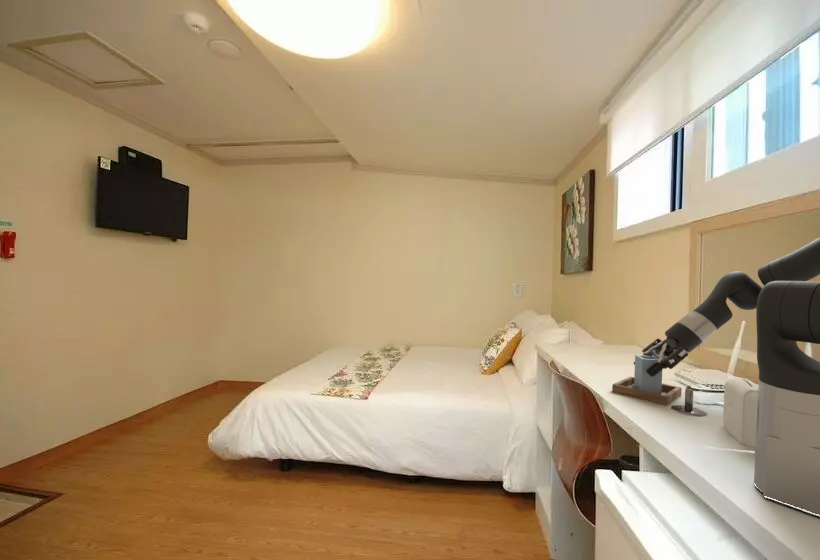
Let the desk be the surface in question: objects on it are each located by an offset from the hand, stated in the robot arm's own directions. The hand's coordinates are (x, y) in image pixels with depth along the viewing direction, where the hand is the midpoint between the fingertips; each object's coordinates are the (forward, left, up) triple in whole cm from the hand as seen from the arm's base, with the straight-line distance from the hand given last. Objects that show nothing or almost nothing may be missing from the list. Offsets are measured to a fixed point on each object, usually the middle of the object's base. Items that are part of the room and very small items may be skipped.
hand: (642, 369), depth 102 cm
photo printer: (-13, -23, -7) cm, 28 cm away
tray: (+1, -1, -7) cm, 7 cm away
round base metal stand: (-5, -12, -7) cm, 15 cm away
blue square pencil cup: (+1, -1, -6) cm, 7 cm away
